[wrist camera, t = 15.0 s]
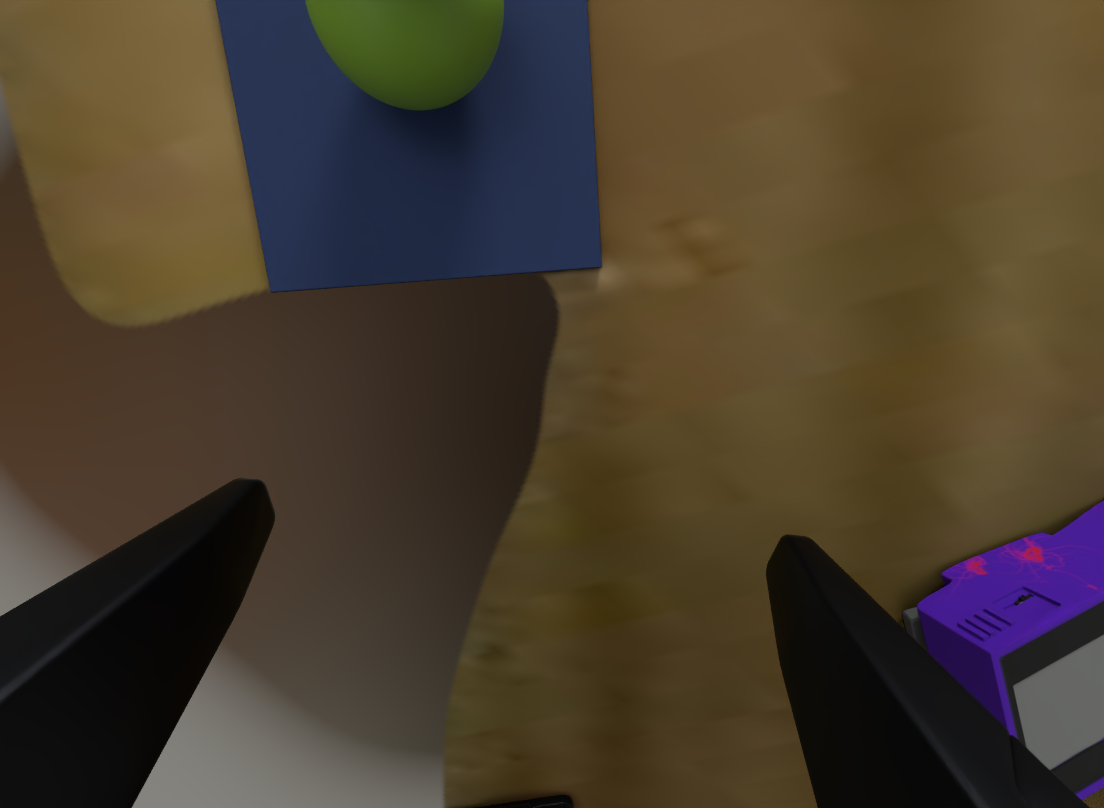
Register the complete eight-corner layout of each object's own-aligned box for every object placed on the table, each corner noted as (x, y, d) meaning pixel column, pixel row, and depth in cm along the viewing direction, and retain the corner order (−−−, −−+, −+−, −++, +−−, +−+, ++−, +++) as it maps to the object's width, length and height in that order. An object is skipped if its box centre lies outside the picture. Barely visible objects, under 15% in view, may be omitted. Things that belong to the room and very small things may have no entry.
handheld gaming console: (1325, 671, 22) (1043, 844, 20) (1161, 605, 27) (925, 739, 25) (1316, 483, 20) (1002, 658, 18) (1142, 449, 25) (883, 585, 23)
